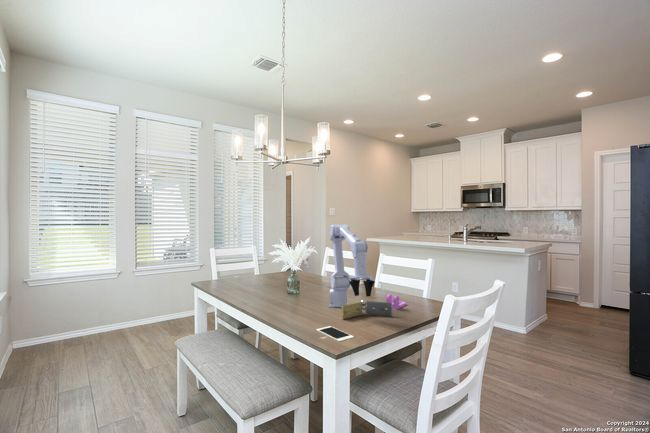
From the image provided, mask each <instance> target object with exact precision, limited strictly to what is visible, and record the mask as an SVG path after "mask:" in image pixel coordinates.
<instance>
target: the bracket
mask: <svg viewBox="0 0 650 433" xmlns="http://www.w3.org/2000/svg"><path fill="white" fill-rule="evenodd" d="M385 302H392V310H395V311H396V310H398V309H400V308H403V307H405V306H406V302H405V301H401V300H400V297H399V295H394V296H393V295H392V294H389V293H388V294H387V295H386V300H385Z"/></svg>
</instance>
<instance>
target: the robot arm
mask: <svg viewBox="0 0 650 433" xmlns="http://www.w3.org/2000/svg"><path fill="white" fill-rule="evenodd" d="M328 232H329V240H330V241H332V248H333V251H332V252H333V260H334V272H333V273H332V274H331V275H330V281H329V282H330V287H331V289H329V300H328V301H329V302H328V303H329V304H328V306H329V307H331V308H342V305H346V304H350V303H349V302H348V290H349V288H350V287H351V288H352V290H353V291H352V292H353V294H354V296H355V297H358V296H360V284H361V281H362V282H363V284H364V288H365V296H366V297H371V296H372V290H373V286H374V285H375V282H376V281H375V275H368V269H367V268H368V267H367V265H368V264H367V257H366V256H367V255H366V253H367V252H368V243H367V242H366V241H365V240H361V239H360V238H359V237H358V236H357V235H356V233H352V232H351V231H350V226H349V225H348V224H330V227H329V230H328ZM343 241H346V243H347V244H348V246H349V247H350V250H351V254H352V257H353V263H354V265H353V266H354V267H353V268H354V275H350V274H349V273H348V272H347V271H345V265H344V255H343V254H344V252H343Z"/></svg>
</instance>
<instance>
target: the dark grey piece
mask: <svg viewBox="0 0 650 433" xmlns="http://www.w3.org/2000/svg"><path fill="white" fill-rule="evenodd" d="M360 301H361V302H362V306H366V310H362V315H361V316H379V317H392V315H393V314H392V312H393V311H392V310H393V309H392V303H393V301H392V302H386V301H372V300H371V301H369V300H366V299H360Z"/></svg>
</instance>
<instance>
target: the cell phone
mask: <svg viewBox="0 0 650 433" xmlns="http://www.w3.org/2000/svg"><path fill="white" fill-rule="evenodd" d="M315 330H316V332H319V333H321V334H323V335H325V336H326V337H329V338H331V339H333V340H335V341H337V342H342V341H346V340H349V339H354V338H355V336H354V335H351V334H349V333H348V332H345V331H343V330H340V329H339V328H336V327H334V326H331V325H329V326H325V327H320V328H316V329H315Z"/></svg>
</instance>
